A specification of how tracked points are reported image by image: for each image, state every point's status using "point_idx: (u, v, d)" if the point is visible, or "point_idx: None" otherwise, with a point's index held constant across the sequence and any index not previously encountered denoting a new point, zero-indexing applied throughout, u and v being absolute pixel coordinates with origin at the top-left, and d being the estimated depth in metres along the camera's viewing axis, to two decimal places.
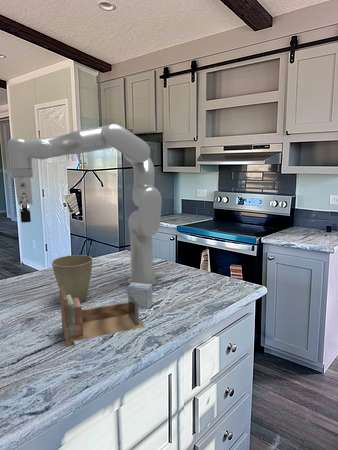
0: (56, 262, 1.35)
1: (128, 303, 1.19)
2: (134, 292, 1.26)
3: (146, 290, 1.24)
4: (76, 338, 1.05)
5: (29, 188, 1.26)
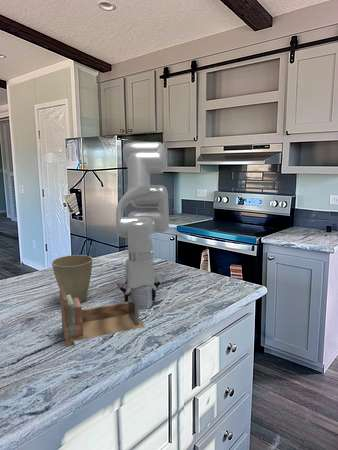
0: (56, 262, 1.35)
1: (128, 303, 1.19)
2: (133, 292, 1.26)
3: (146, 290, 1.24)
4: (76, 338, 1.05)
5: None
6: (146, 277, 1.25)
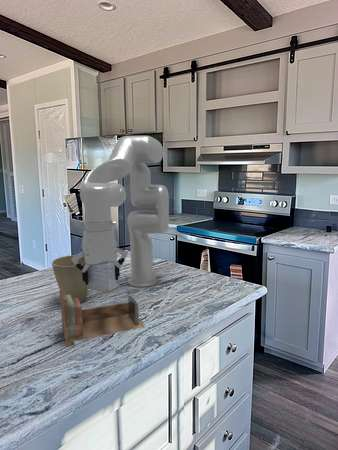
0: (56, 262, 1.35)
1: (128, 303, 1.19)
2: (93, 269, 1.08)
3: (106, 267, 1.06)
4: (76, 338, 1.05)
5: None
6: (107, 252, 1.07)
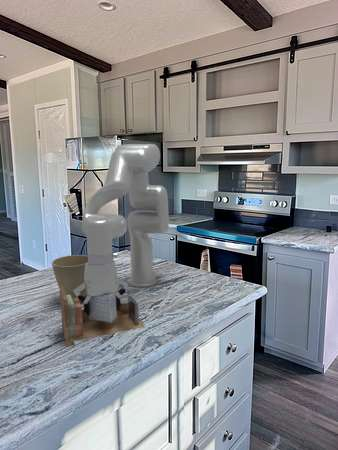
0: (56, 262, 1.35)
1: (128, 303, 1.19)
2: (94, 300, 1.09)
3: (108, 298, 1.08)
4: (76, 338, 1.05)
5: None
6: (108, 283, 1.08)
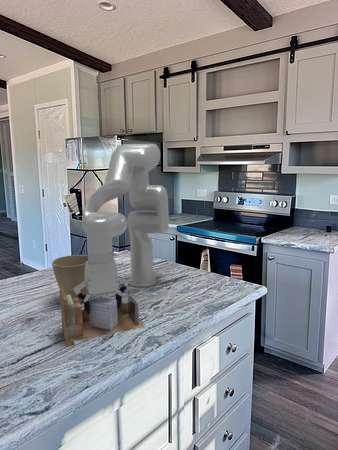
0: (56, 262, 1.35)
1: (128, 303, 1.19)
2: (95, 308, 1.10)
3: (108, 306, 1.08)
4: (76, 338, 1.05)
5: None
6: (109, 282, 1.09)
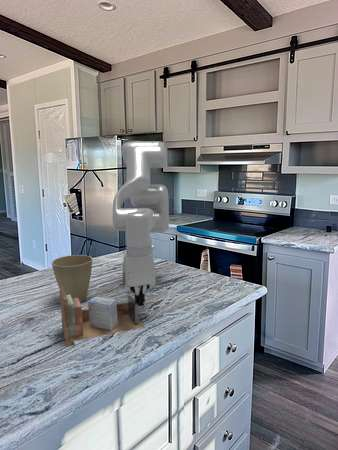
0: (56, 262, 1.35)
1: (128, 303, 1.19)
2: (95, 308, 1.10)
3: (108, 306, 1.08)
4: (76, 338, 1.05)
5: None
6: (146, 274, 1.13)
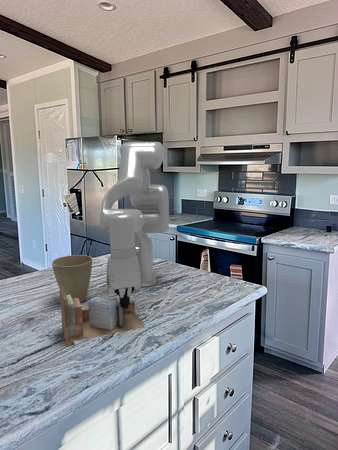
0: (56, 262, 1.35)
1: None
2: (95, 308, 1.10)
3: (108, 306, 1.08)
4: (76, 338, 1.05)
5: None
6: (131, 277, 1.11)
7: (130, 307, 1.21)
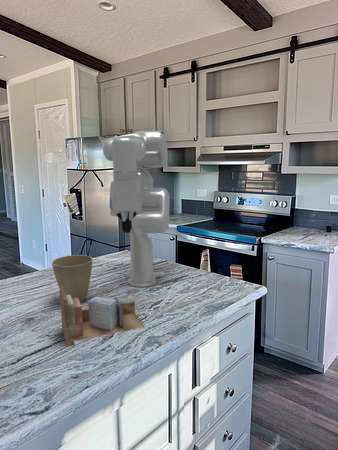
0: (56, 262, 1.35)
1: None
2: (95, 308, 1.10)
3: (108, 306, 1.08)
4: (76, 338, 1.05)
5: None
6: (132, 200, 1.15)
7: (130, 307, 1.21)
